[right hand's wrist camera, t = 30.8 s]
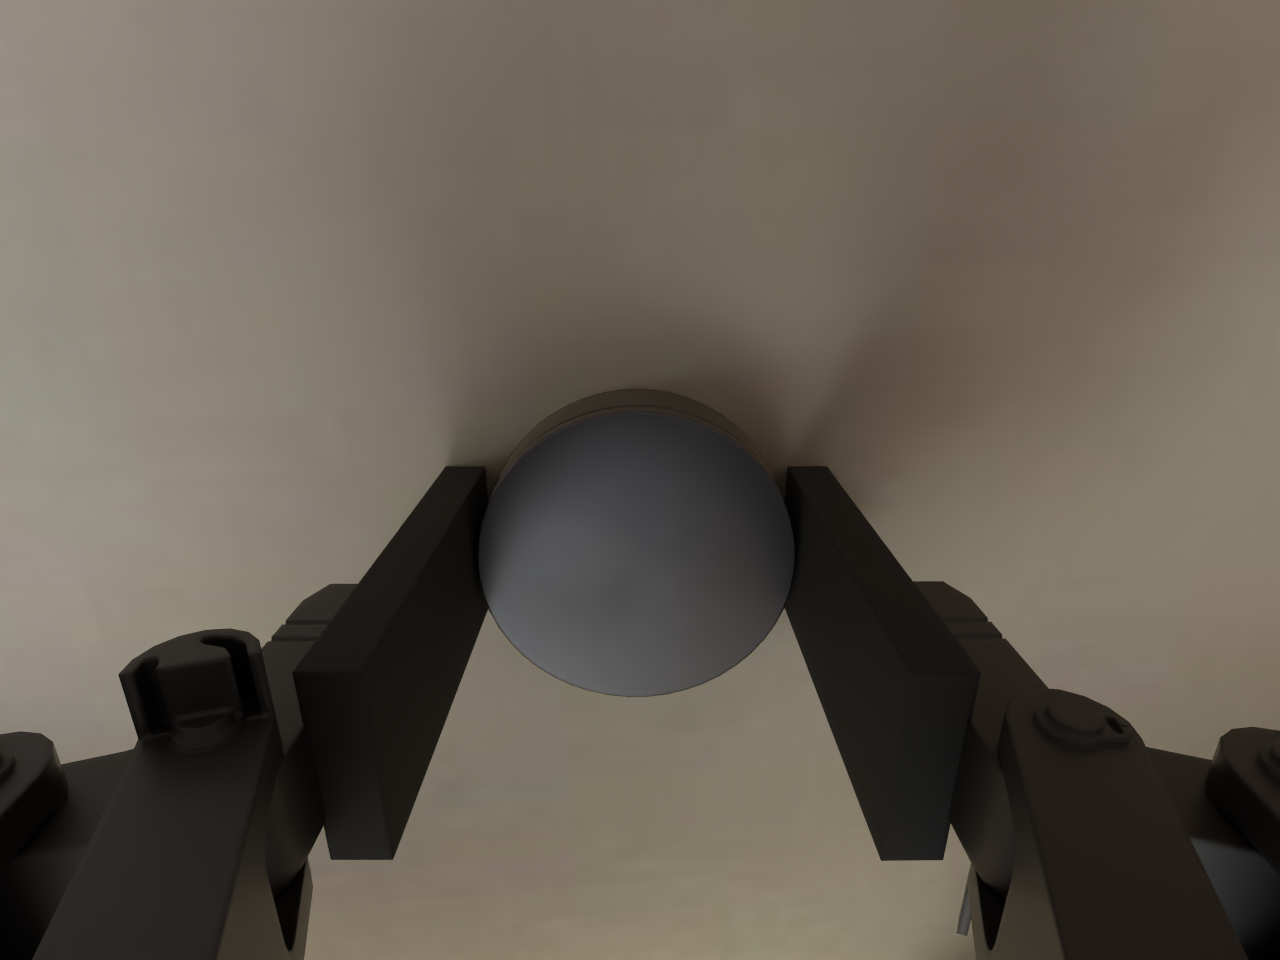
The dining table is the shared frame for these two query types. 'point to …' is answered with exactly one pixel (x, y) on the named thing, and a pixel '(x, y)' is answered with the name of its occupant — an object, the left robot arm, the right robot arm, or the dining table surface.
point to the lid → (636, 545)
